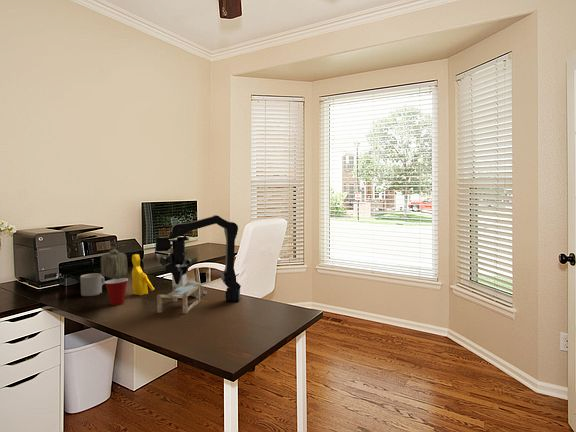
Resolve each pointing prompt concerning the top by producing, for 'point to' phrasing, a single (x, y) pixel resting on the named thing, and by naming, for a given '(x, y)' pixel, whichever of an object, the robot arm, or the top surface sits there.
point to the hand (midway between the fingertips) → (179, 282)
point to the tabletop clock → (114, 264)
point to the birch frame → (185, 301)
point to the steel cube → (182, 280)
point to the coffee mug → (91, 284)
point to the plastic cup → (116, 290)
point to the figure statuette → (139, 278)
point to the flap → (181, 290)
